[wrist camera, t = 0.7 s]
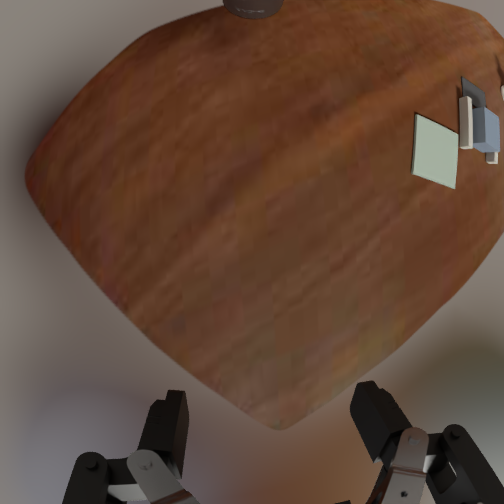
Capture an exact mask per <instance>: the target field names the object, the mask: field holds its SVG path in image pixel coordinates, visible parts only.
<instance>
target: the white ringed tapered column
mask: <svg viewBox="0 0 504 504" xmlns="http://www.w3.org/2000/svg"><path fill="white" fill-rule="evenodd" d="M501 95H502V97H503V100H504V85H503V86H501Z"/></svg>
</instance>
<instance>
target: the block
mask: <svg viewBox="0 0 504 504" xmlns="http://www.w3.org/2000/svg"><path fill="white" fill-rule="evenodd" d="M472 118H473V147H474V148H476V149H478V150H479V151H481V152H500V131H499V117H497V116H496V115H495V114H494V113H492V112H491V111H490V110H488V109H487V108H485V107H480V108H475V109H472Z"/></svg>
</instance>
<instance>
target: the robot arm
mask: <svg viewBox="0 0 504 504" xmlns="http://www.w3.org/2000/svg"><path fill="white" fill-rule="evenodd" d="M283 1H284V0H223V3H224V6H225V7H226V8H227V10H229V11H230V12H231V13H233V14H235V15H238V16H241V17H245V18H254V19H256V18H264V17H268V16H271V15H273V14H275V13H276V12H278V10H279V9H280V8H281V6H282V4H283ZM350 413H351V416H352V418H353V421H354V423H355V425H356V427H357V429H358V431H359V433H360V435H361V438H362V440H363V442H364V444H365V446H366V448H367V450H368V453H369V455H370V457H371V459H372V461H373V463H376V462H379V461H382V462H383V466H382V468H381V470H380V473H379V475H378V478H377V480H376V483H375V486H374V488H373V490H372V492H371V495H370V497H369V498H368V500H367V502H366V503H365V504H419V502H420V499H421V496H422V492H423V488H424V484H425V481H426V483H427V485H428V488H429V490H430V492H431V494H432V496H433V498H434V500H435V503H436V504H504V487H503V485H502V484H501V482H500V481H499V479H498V477H497V476H496V474H495V472H494V471H493V469H492V468H491V466H490V465H489V463H488V462H487V460H486V459H485V457H484V456H483V454H482V453H481V451H480V450H479V448H478V447H477V445H476V444H475V443H474V441H473V440H472V438H471V437H470V435H469V434H468V432H467V431H466V430H465V429H464V428H463V427H462V426H460V425H457V424H452V425H449V426H447V427H446V428H445V429H444V431H443V432H442V433H435V434H427V433H426V432H425V431H424V430H422V429H420V428H417V427H412V425H411V424H410V422H409V421H408V419H407V418H406V416H405V415H404V413H403V412H402V410H401V409H400V408H399V406H398V404H397V403H396V402H395V400H394V398H393V397H392V395H391V394H390V393H388V392H387V391H385V390H384V389H383V388H382V389H379V388H378V387H377V385H376V383H375V382H374V381H366V382H360V383H358V384H357V386H356V388H355V392H354V395H353V398H352V401H351V404H350ZM188 427H189V411H188V406H187V399H186V393H185V391H179V390H168V392H167V396H166V399H165V400H156V401H155V402H154V403H153V404H152V405H151V407H150V410H149V413H148V417H147V419H146V423H145V426H144V429H143V433H142V436H141V439H140V442H139V446H138V449H137V450H136V451H135V452H133V453H131V455H129V457H127V458H122V459H105V458H104V457H103V456H102V455H101V454H99V453H96V452H86V453H83V454H81V455H80V456H79V457H78V458H77V460H76V463H75V465H74V468H73V471H72V474H71V477H70V480H69V483H68V486H67V489H66V492H65V496H64V499H63V502H62V504H127V501H137V500H149V502H150V503H151V504H200V503H199V502H198V501H197V500H196V499H195V497H194V496H193V495H192V494H191V493H190V492H188V491H186V490H185V489H184V488H183V487H182V486H181V484H180V483H179V482H178V481H177V479H182V472H183V464H184V456H185V448H186V441H187V434H188ZM449 462H450V463H451V465H452V467H453V468H454V470H455V472H456V475H457V477H456V475H455V473H454V472H453V470H452V468H451V466H450V465H449ZM335 504H351V503H350V500H348V501H344V502H340V503H335Z"/></svg>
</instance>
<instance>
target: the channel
mask: <svg viewBox="0 0 504 504" xmlns="http://www.w3.org/2000/svg"><path fill="white" fill-rule="evenodd" d="M461 81H462V93H463V97H462V98H459V110H460V148H462V149H473V118H472V105H474V106H475V107H476V108H480V107H485V108H486V101H485V93H484V92H483V91H482V90H480V89H479V88H477V87H476V86H475V85H473V84H472V83H470V82H469V81H468V80H466V79H465V78H463V77H461ZM486 162H487V163H489V164H498V152H486Z"/></svg>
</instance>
